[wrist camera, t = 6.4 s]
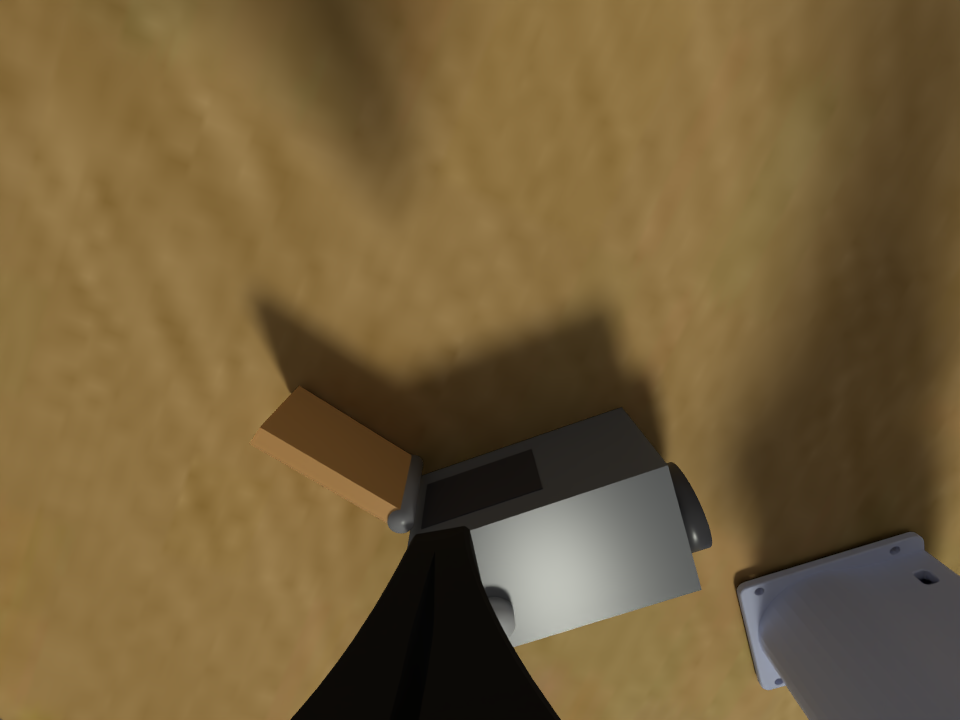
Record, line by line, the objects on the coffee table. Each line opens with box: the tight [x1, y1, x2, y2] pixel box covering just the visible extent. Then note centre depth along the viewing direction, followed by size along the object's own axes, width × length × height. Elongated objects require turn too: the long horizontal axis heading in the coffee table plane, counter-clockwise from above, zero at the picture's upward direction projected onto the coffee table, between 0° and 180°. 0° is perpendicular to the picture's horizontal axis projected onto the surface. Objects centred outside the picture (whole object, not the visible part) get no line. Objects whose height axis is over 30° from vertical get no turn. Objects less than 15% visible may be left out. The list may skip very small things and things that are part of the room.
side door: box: [249, 386, 423, 533], centre depth 19 cm, size 7×1×4 cm, turn 53°
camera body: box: [407, 407, 712, 647], centre depth 20 cm, size 11×6×6 cm, turn 110°
